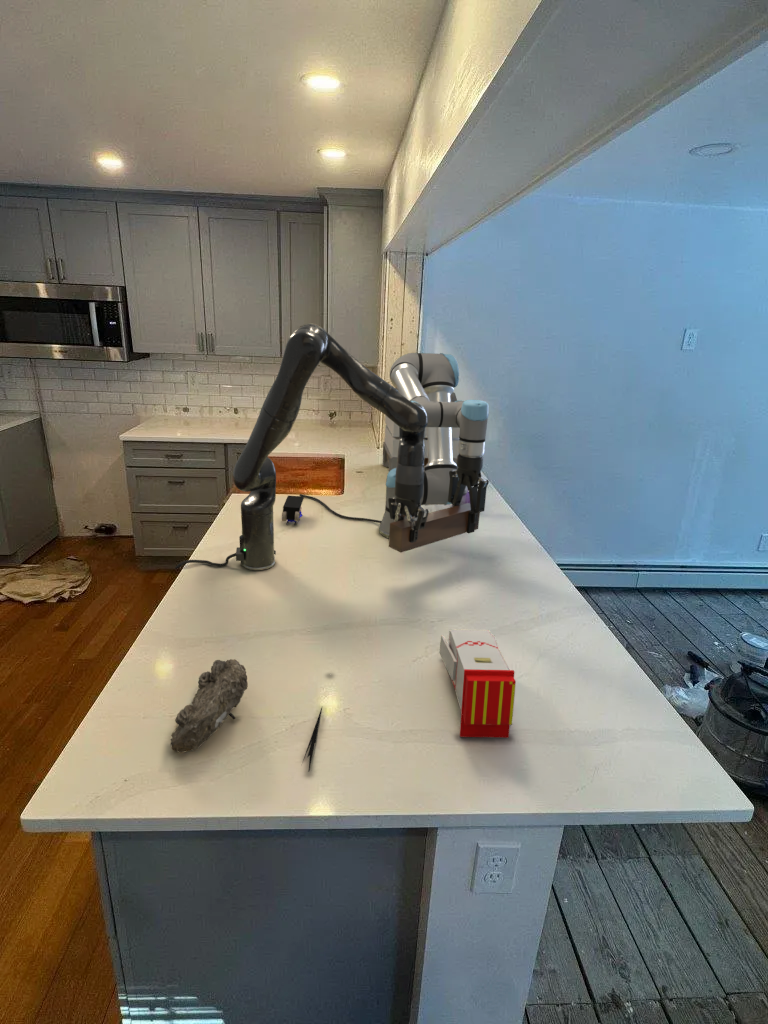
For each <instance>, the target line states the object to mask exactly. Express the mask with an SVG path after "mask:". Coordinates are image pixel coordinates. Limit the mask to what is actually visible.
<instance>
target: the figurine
mask: <svg viewBox="0 0 768 1024" xmlns="http://www.w3.org/2000/svg"><path fill="white" fill-rule="evenodd" d="M461 503H462V504H466V503H470V497H469V490H468V488H467V486H466V488H465V491H464V494H463V497H462V500H461ZM462 504H460V505H462ZM451 505H452V504H451ZM451 507H453V505H452V506H451Z"/></svg>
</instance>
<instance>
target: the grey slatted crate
mask: <svg viewBox="0 0 768 1024" xmlns="http://www.w3.org/2000/svg"><path fill="white" fill-rule="evenodd" d="M394 388H395V387H394ZM395 389H396V390H397V391H398V389H397V388H395ZM398 392H399V391H398ZM457 400H458V398H457V395H456V392H455V391H454V392H453V393H452V394H451V395H450V402H455V401H457ZM384 415H385V414H384ZM384 424H385V425H384V426H385V427H384V440H383V441H382V442H383V443H382V463H381V464H382V465H383V467H386V468H388V472H389V471H390V470H392V469H394V468H397V459H398V447H399V426H398V425H396V424H395V423H394V422H393V421H392V420H391V419H389V418H388V417H387V416H386V415H385V416H384ZM451 430H452V453H453V462H454V463H455V464H456V465H457V456H458V454H459V453H458V446H459V434H460V428H455V427H451ZM424 446H425V455H424V467H425V466H426V465H427V464H428V438H427V427H426V428H425V433H424Z"/></svg>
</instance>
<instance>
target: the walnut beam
mask: <svg viewBox="0 0 768 1024" xmlns="http://www.w3.org/2000/svg"><path fill="white" fill-rule="evenodd" d="M470 511H471V507H470V503H466V504H462V505H458V506H454V507H452V506H451V507H447V508H444V509H440V510H439V509H438V510H436V511H431V512H429V513H428V517H427V521H426V524H425V528H424V529H420V530H418V539H417V541H416V542H413V543H411V542H409V538H410V530H411V529H410V524H409V522H408V521H407V519H404V520H400V521H396V522H392V523H390V532H389V538H388V548H391V549H392V550H394V551H397V552H398V553H405V552H407V551H411V550H414V549H417V548H420V547H424V546H427V545H429V544H434V543H437V542H440V541H443V540H447V539H449V538H453V537H456V536H460V535H463V534H467V524H468V514H469V512H470ZM480 515H481V512H480V513H478V519H477V523H475V531H476V530H479V525H480ZM412 518H414V517H412ZM414 525H415V521H414Z"/></svg>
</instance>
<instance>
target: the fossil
mask: <svg viewBox="0 0 768 1024" xmlns="http://www.w3.org/2000/svg"><path fill="white" fill-rule="evenodd" d="M197 683H198V684H197V687H198V690H197V691H196V693H195V694H194V697H193V698H192V701H191V704H187V705H185V706H184V707H183V708H182V709H181V710H179V712H178V713H177V715H176V717H175V719H174V721H175V723H176V725H177V726H176V728H175V730H174V731H173V732H172V733H171V735H170V736H171V738H170V747H171V750H172V751H176V752H178V753H186V752H190V751H193V752H195V751H197V750H198V749H199V748H200V747H201V746H202V745H203V744H204V743H205V742H207V741H208V740H209V739H210V737H211V736H212V735H213V734H215V733H216V731H218V730H219V729H220V728H221V726H222V725H223V723H224V721H225V720H226V719H227V718H228V717H230V718H232V720H235V719H236V716H235V715H234V714H233V713H232V710H233V709H235V708H237V706H238V705H239V704H240V702H241V700H242V698H243V696H244V693H245V691H246V690H247V689H248V686H249V685H248V675H247V669H246V668H245V666H244V665H243V664H241V663H240V661H238V660H237V659H236V658H234V659H232V658H230V659H226V660H221V659H216V660H214V661H213V662H212V665H211V667H210V671H208V670H207V671H205V672H201V674H200V675H199V676H198V681H197Z"/></svg>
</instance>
